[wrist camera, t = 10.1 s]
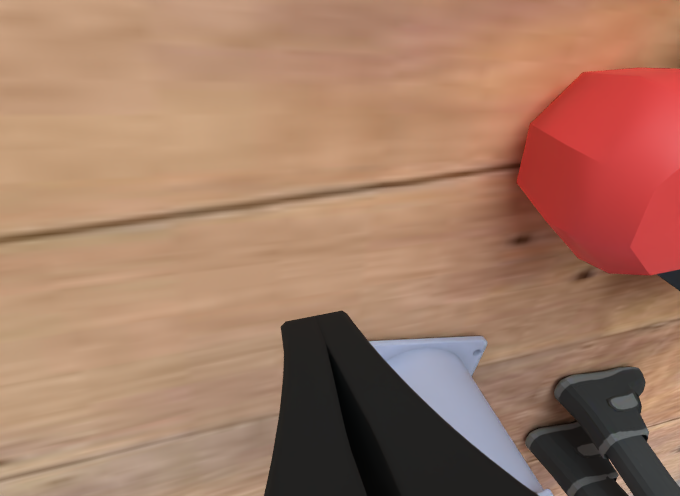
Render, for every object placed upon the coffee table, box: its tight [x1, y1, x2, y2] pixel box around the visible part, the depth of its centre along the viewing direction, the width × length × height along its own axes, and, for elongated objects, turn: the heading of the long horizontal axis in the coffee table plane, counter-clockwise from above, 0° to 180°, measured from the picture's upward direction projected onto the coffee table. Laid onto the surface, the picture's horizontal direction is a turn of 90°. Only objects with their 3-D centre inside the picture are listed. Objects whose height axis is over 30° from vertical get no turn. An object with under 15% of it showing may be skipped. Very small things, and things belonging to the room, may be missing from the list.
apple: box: [516, 68, 680, 275], centre depth 17 cm, size 8×8×8 cm
